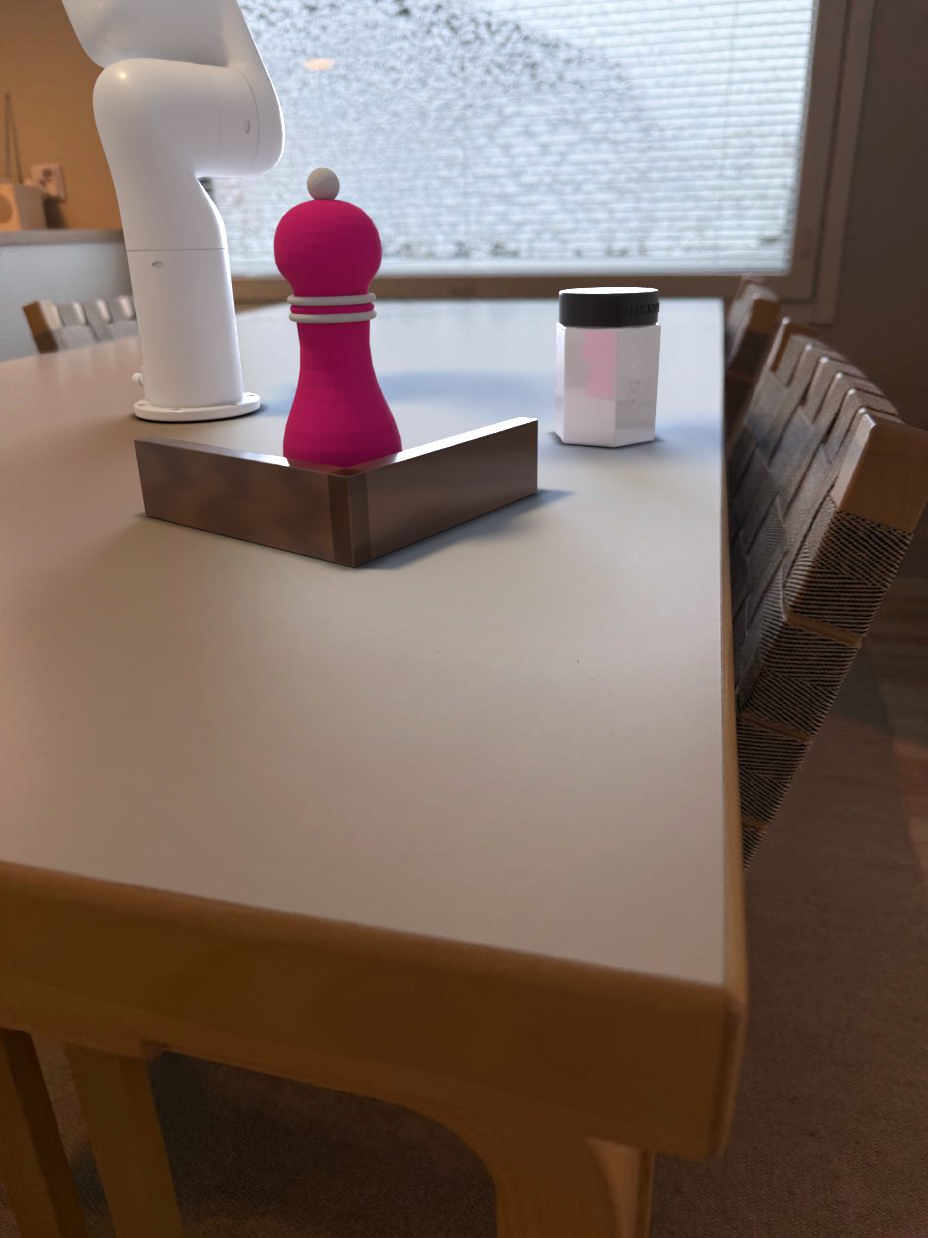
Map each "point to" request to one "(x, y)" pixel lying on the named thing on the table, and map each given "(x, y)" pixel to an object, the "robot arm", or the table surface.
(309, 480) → the corner stop
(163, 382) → the robot arm
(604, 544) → the table surface
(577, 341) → the jar
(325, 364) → the pepper mill
